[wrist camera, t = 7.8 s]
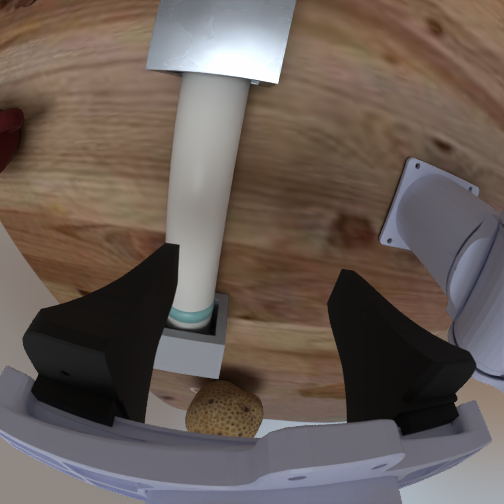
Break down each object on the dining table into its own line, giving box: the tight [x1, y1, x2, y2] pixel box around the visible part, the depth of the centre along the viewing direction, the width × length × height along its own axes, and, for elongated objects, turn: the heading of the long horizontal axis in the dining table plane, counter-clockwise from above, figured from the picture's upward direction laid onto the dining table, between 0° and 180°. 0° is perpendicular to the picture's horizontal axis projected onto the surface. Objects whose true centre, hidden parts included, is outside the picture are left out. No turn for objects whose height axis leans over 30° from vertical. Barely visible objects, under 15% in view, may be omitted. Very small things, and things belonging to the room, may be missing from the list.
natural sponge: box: [185, 380, 264, 438], centre depth 30 cm, size 9×9×10 cm
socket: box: [153, 293, 229, 379], centre depth 25 cm, size 5×7×6 cm
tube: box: [165, 72, 251, 335], centre depth 19 cm, size 23×4×4 cm, turn 169°
